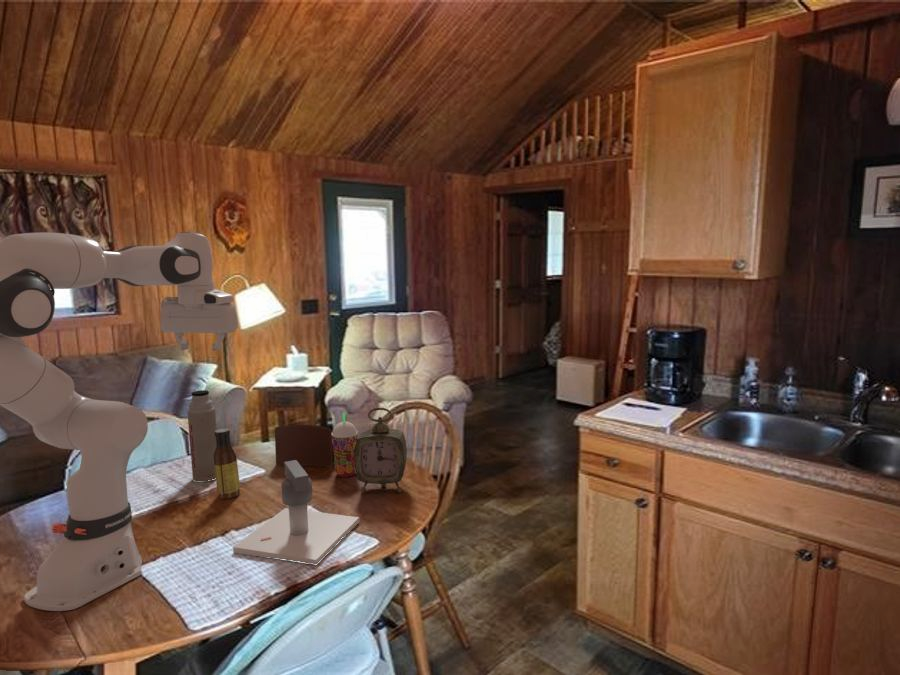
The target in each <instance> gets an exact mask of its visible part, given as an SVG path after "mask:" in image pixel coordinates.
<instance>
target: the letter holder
mask: <svg viewBox="0 0 900 675" xmlns="http://www.w3.org/2000/svg"><path fill="white" fill-rule="evenodd" d="M332 432H333V429H331V428H330V427H327V426H322V425H311V424H290V425H280V426H276V427H275V428H274V443H275V444H274V447H275V449H274V450H275V465H276V466H284V462H287V461H293V460H297V462H298V463H299V464H300V465H301V467H323V466H333V465H334V464H335V462H334V453H333V444H332V435H331V433H332ZM334 466H335V465H334ZM334 466H333V467H334Z"/></svg>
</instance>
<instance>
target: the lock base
mask: <svg viewBox="0 0 900 675" xmlns="http://www.w3.org/2000/svg"><path fill="white" fill-rule="evenodd" d="M358 523H359V524H360V517H359V516H354V515H353V516H352V515H351V516H350V515H343V514H335V513H327V512H320V511H312V510H308V503H306V504H303V505H298V506H288V508H287V507H285V508H283V509H281V511H279V512H278V513H276V514H275V515H274V516H273V517H271V518H270V519H269V520H267V521H266V522H264V523H263V524H262V525H261V526H259V527H258V528H256V529H255V530H254V531H252V532H251V533H250V534H248V535H247V536H245V537H244V538H243V539H242V540H240V541H238V543H236V544H235V545H234V546H232V550H233V552H234V553H233V554H237V553H241V554H240V555H243V554H246V555H245V556H249V555H253V556H252V557H256V556H262V557H270V558H279V559H286V560H293V561H300V562H305V563H313V564H317V563H318V562H319V561H320V560H321V559H322V558H323V557H324V556H325V555H326V554H327V553H328V552H329V551H330V550H331V549H332V548H333V547H334V546H335V545H336V544H337V543H338V542H339V541H340V540H341V538H342V537H344V536H345V535H346V534H347V533H348V532H349V531H350V530H352V529H353V528H354V527H355V526H356V525H357V524H358ZM359 524H358V525H359ZM358 525H357V526H358ZM357 526H356V527H357ZM356 527H355V528H356ZM355 528H354V529H355ZM354 529H353V530H354ZM353 530H352V531H353ZM262 557H261V558H262Z"/></svg>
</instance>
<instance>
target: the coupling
mask: <svg viewBox="0 0 900 675" xmlns="http://www.w3.org/2000/svg"><path fill="white" fill-rule="evenodd" d="M283 466H284V476H285V478H286V479H284V480H283V481H282V482H281V484H280V486H281V497H282V498H281V499H282V500H281V501H282V504H284V505H286V506H288V507H289V506H298V505H303V504H306V503H307V504H309V503H310V502H312V500H313V499H314V498H313V482H312V478H310V477H309V474H308V473H307V472H306V470H305V469H304V468H303V466H301V465H300V464H299V463H298V462H297V460H293V461H287V462H284V465H283Z"/></svg>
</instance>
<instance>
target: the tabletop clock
mask: <svg viewBox="0 0 900 675" xmlns="http://www.w3.org/2000/svg"><path fill="white" fill-rule="evenodd" d="M375 411H385V412H387V413H388V414H389V417H387V418H384V419H383V417H382V416H378V418H377V419H375V418H373V417H371V413H373V412H375ZM367 416H368V419H369V420H371V421H372V422H375V423H374V424H373V426H372V428H371V429H370V428H369V429H365V430H363V431H361V432H360V434H359V435H358V439H357V442H356V444H355V452H354V463H355V471H356V473H355V475H356V477H357V479H358V481H359V482H361V483H364V485H363V486H362V487H361V488H360V490H359V491H360V492H361V493H365V492H366V491H367V489H366V487H367V485H369V484H374V485H380V486H381V487H382V486H384V487H386V485H387V484H395V485H396V492H397V493H401V492H403V489H402V487H400V485H399V482H401V481H402V478H403V476H404V472H405V469H406V466H407V459H408V458H407V455H408V449H407V440H406V437H405V434H404V432H403V431H402V430H400V429H393V428H390V427H389V425H388V424H387V423H385V422H389V421H390V420H391V419H392V417H393V414H392V412H391V410H389V409H387V408H384V407H375V408H373V409H371V410H370V411H368V414H367Z"/></svg>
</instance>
